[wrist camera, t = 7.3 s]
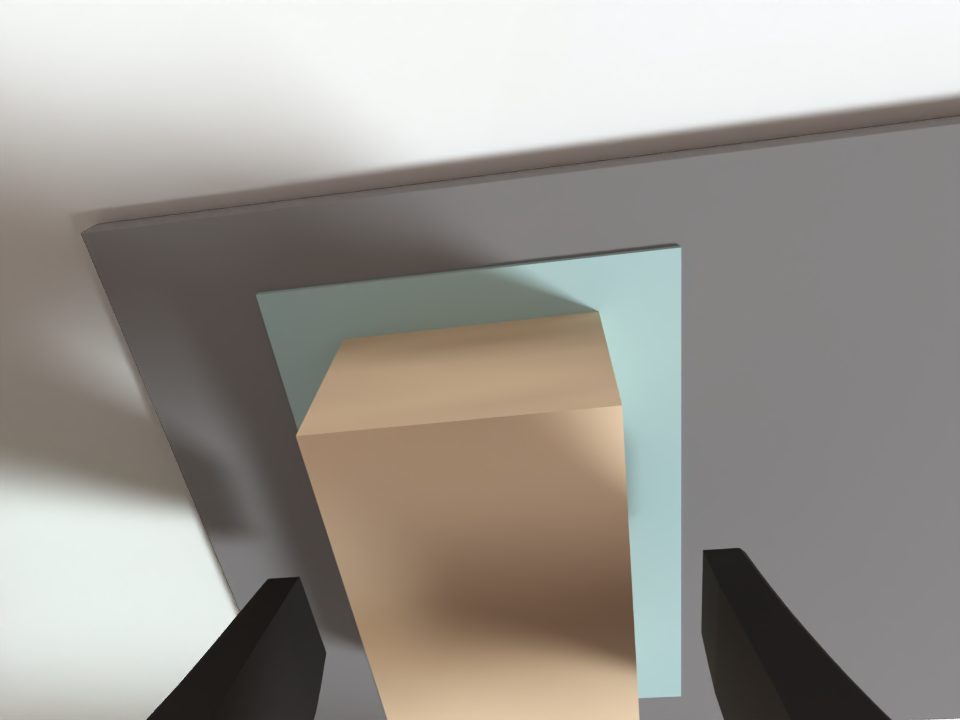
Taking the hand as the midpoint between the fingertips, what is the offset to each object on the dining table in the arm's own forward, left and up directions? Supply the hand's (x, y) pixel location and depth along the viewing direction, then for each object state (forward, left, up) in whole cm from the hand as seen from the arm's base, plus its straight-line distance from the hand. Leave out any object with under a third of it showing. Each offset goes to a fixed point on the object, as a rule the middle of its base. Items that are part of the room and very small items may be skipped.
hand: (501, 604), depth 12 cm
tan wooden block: (0, 0, -2) cm, 2 cm away
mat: (+4, -4, -3) cm, 6 cm away
